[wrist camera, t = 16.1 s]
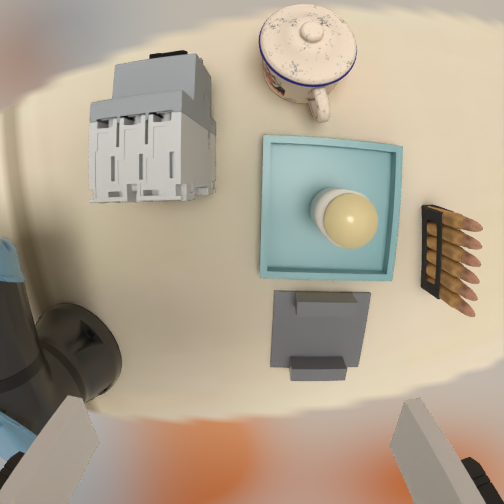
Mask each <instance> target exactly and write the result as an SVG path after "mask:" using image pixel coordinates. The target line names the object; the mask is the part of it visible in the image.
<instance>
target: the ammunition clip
mask: <svg viewBox="0 0 504 504" xmlns="http://www.w3.org/2000/svg"><path fill="white" fill-rule="evenodd" d="M458 229H463V230H468V231H473V232H478V231H481V230H483V227H482V226H481V225H480V224H479V223H478V222H476V221H474V220H472V219H469V218H467V217H464V216H463V215H461V214H458V213H455V212H453V211H450V210H447V209H445V208H442V207H439V206H436V205H423V206H422V271H421V288H423V289H424V290H426V291H427V292H429V293H430V294H431V295H433V296H434V297H436V298H437V299H440V298H441V299H442V300H443V301H444V302H446V303H447V304H448V305H449V306H451V307H453V308H455V309H457V310H458V311H460V312H461V313H463V314H465V315H467V316H470V317H475V313H474V311H473V309H472V308H471V306H470V305H469V304H468V303H466V302H465V301H464V300H463V299H462V298H461V297H460V295H461V296H463V297H464V298H466V299H469V300H472V301H476V300H477V296H476V294H475V293H474V292H473V290H472V289H470V288H469V287H468V286H467V285H465V284H464V283H463V282H462V281H461V280H460V279H462V280H465V281H466V282H469V283H472V284H478V283H479V279H478V278H477V276H476V275H475V274H474V273H473V272H471V271H470V270H468V269H467V268H465V267H464V266H463V265H462V264H461V263H464V264H466V265H469V266H473V267H479V266H481V263H480V261H479V260H478V259H477V258H476V257H475V256H473V255H472V254H470V253H468V252H467V251H465V250H464V249H463V248H461V247H460V246H463V247H467V248H470V249H481V248H482V245H481V244H480V242H479V241H477V240H476V239H474V238H473V237H471V236H469V235H467V234H465V233H464V232H462V231H460V230H458ZM457 245H458V246H457ZM459 262H461V263H459ZM457 277H458V278H457ZM459 278H460V279H459ZM457 293H458V294H457Z"/></svg>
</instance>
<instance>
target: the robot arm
mask: <svg viewBox="0 0 504 504" xmlns="http://www.w3.org/2000/svg"><path fill="white" fill-rule="evenodd" d="M24 281H25V276H24V275H23V274H22V270H21V266H20V262H19V258H18V253H17V249H16V247H15V245H14V244H13V242H12V241H10V240H9V239H7V238H5V237H0V457H2V458H4V459H5V460H7V463H6V464H5V465H4V468H2V470H1V471H0V504H69V502H70V500H71V498H72V496H73V494H74V492H75V490H76V487H77V486H78V484H79V481H80V480H81V477H82V476H83V474H84V472H85V470H86V468H87V466H88V464H89V462H90V460H91V458H92V456H93V454H94V452H95V450H96V448H97V447H98V444H99V443H100V442H99V440H98V438H97V435H96V433H95V430H94V428H93V426H92V423H91V420H90V418H89V415H88V412H87V410H86V407H85V403H87V402H88V401H90V400H92V399H94V398H95V397H97V396H98V395H101V394H103V393H105V392H107V391H108V390H109V389H110V388H111V387H112V386H113V384H114V383H115V381H116V380H117V378H118V377H119V374H120V371H121V355H120V351H119V348H118V346H117V343H116V341H115V339H114V337H113V336H112V334H111V332H110V331H109V330H108V328H107V327H106V326H105V325H104V324H103V323H102V322H101V320H99V319H98V318H97V317H96V316H95V315H94V314H92V313H91V312H89V311H88V310H86V309H84V308H82V307H80V306H77V305H74V304H69V303H62V304H57V305H55V306H53V307H51V308H50V309H48V310H47V311H46V312H44V313H43V314H42V315H41V316H40V318H39V319H38V321H37V323H36V325H35V324H34V320H33V316H32V313H31V309H30V305H29V301H28V297H27V293H26V288H25V283H24ZM390 448H391V450H392V452H393V455H394V457H395V459H396V461H397V464H398V466H399V469H400V471H401V473H402V475H403V478H404V480H405V483H406V485H407V487H408V490H409V492H410V494H411V497H412V499H413V502H414V504H504V502H503V500H502V499H501V497H500V495H499V494H498V492H497V490H496V489H495V487H494V486H493V484H492V483H491V482H490V479H489V478H488V476H487V475H486V473H485V471H484V470H483V468H482V467H481V465H480V464H479V463H478V462H477V461H475V460H474V459H472V458H471V457H468V458H465V459H463V460H460V459H459V457H458V456H457V454H456V452H455V451H454V449H453V447H452V446H451V444H450V443H449V441H448V440H447V438H446V436H445V435H444V433H443V432H442V430H441V428H440V427H439V425H438V424H437V422H436V421H435V419H434V418H433V416H432V414H431V413H430V411H429V410H428V408H427V407H426V405H425V404H424V402H423V401H422V399H421V398H416V399H410V400H405V401H404V404H403V407H402V410H401V413H400V417H399V419H398V422H397V425H396V429H395V431H394V434H393V437H392V440H391V443H390Z"/></svg>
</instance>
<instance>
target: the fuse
mask: <svg viewBox="0 0 504 504" xmlns="http://www.w3.org/2000/svg"><path fill="white" fill-rule="evenodd" d="M310 216H311V219H312V221H313V223H314V224H315V225H316V226H317V228H318V229H319V230H320V231H321V232H322V233H323V234H324V235H325V236H326V237H327V239H328V240H329V241H330V242H332V243H333V244H335V245H336V246H339V247H343V248H347V249H355V248H359V247H362V246H364V245H365V244H367V243H368V242H369V241H370V240H371V239H372V238H373V236H374V235H375V233H376V230H377V227H378V215H377V212H376V209H375V207H374V205H373V204H372V203H371V202H370V201H369V200H368V199H367V198H366V197H365V196H364V195H362V194H361V193H358V192H355V191H350V190H345V189H340V188H334V187H330V188H325V189H323V190H321V191H319V192H318V193H317V194H316V195H315V196H314V198H313V200H312V202H311V205H310Z"/></svg>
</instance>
